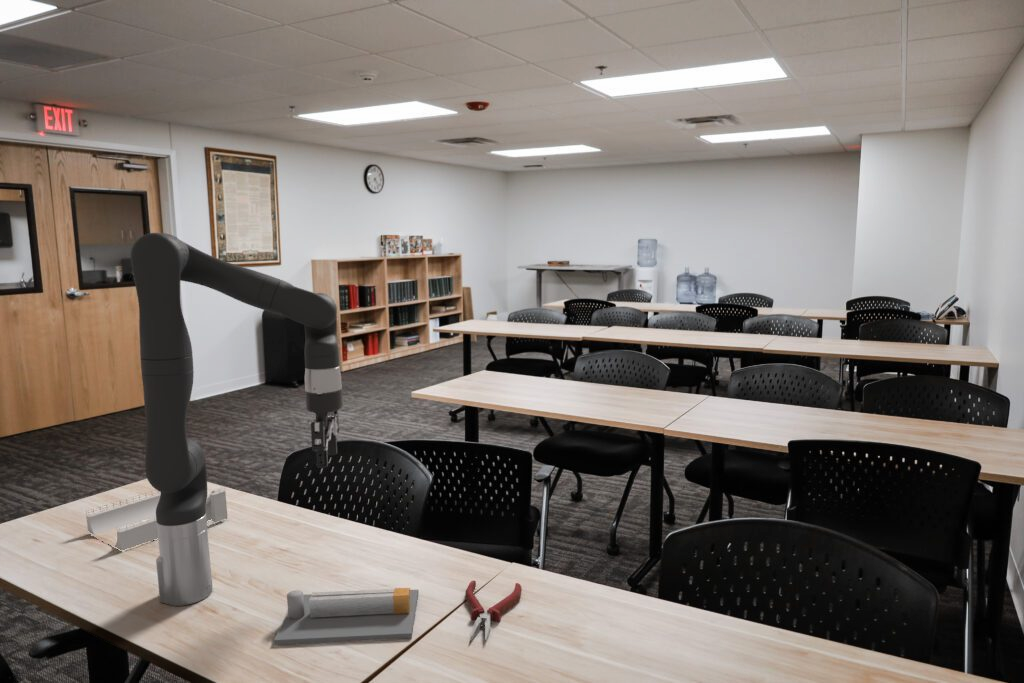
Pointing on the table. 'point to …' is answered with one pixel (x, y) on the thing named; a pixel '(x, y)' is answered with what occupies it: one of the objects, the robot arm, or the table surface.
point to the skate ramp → (143, 511)
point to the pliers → (492, 612)
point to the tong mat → (341, 624)
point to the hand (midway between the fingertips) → (327, 461)
